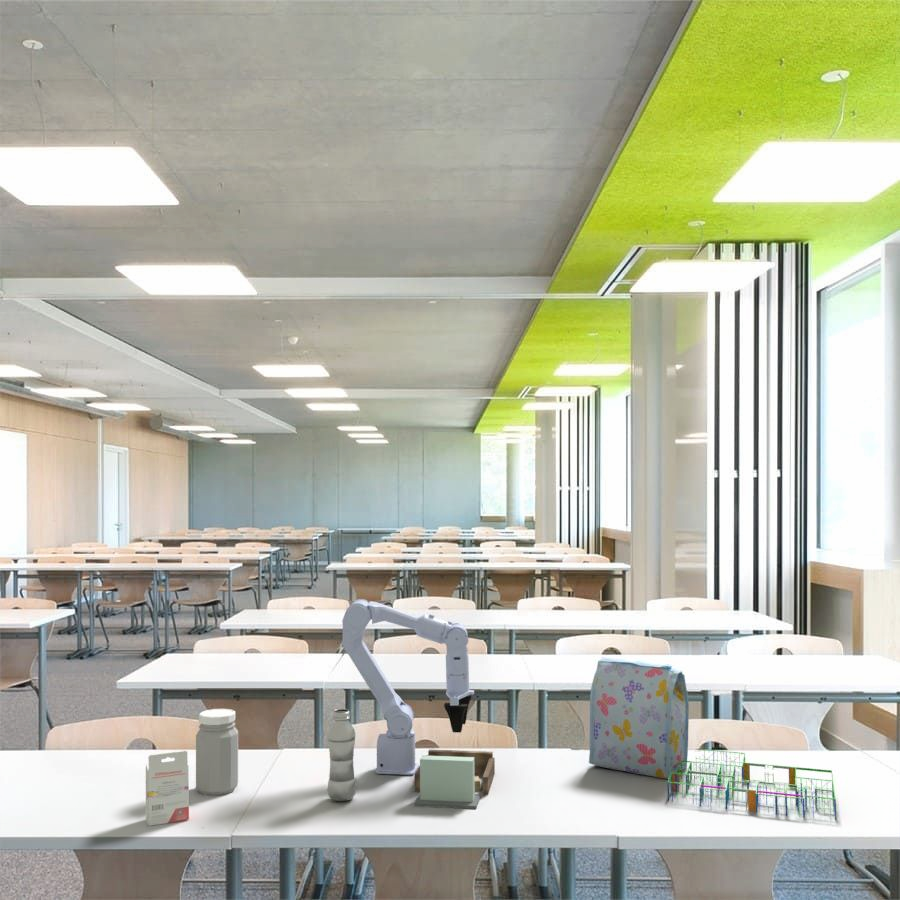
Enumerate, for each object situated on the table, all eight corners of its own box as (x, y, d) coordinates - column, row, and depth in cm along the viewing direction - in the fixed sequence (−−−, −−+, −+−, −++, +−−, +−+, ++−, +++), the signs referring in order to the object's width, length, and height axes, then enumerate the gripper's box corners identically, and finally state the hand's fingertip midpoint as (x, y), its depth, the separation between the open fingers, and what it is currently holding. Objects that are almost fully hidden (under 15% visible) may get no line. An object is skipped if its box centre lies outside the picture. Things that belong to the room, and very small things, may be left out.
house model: (667, 804, 207) (666, 782, 207) (682, 766, 235) (681, 747, 235) (836, 823, 195) (835, 800, 195) (830, 780, 223) (830, 760, 223)
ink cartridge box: (186, 813, 202) (186, 745, 203) (189, 820, 198) (189, 750, 199) (144, 818, 199) (145, 749, 200) (147, 826, 195) (147, 755, 195)
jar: (241, 793, 215) (241, 715, 216) (198, 799, 211) (198, 719, 212) (234, 781, 224) (234, 706, 225) (193, 786, 220) (193, 710, 221)
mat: (413, 806, 206) (413, 803, 206) (420, 794, 214) (420, 791, 214) (476, 808, 204) (476, 806, 204) (480, 796, 212) (480, 794, 212)
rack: (414, 791, 216) (414, 769, 216) (427, 769, 232) (426, 749, 233) (488, 794, 213) (487, 772, 213) (495, 772, 230) (495, 751, 230)
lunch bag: (695, 765, 234) (693, 659, 236) (674, 783, 220) (672, 671, 221) (611, 752, 246) (610, 652, 247) (586, 769, 232) (585, 662, 233)
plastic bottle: (361, 796, 212) (360, 708, 213) (348, 806, 206) (348, 715, 207) (335, 793, 215) (335, 706, 215) (322, 803, 208) (322, 713, 209)
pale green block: (420, 799, 208) (419, 759, 209) (422, 795, 211) (422, 755, 212) (473, 802, 206) (472, 761, 207) (474, 797, 209) (474, 757, 210)
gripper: (469, 679, 225) (471, 736, 224) (476, 667, 239) (478, 720, 239) (441, 679, 226) (442, 735, 225) (449, 667, 240) (451, 720, 240)
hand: (459, 728), depth 232 cm, fingers open, 7 cm apart
